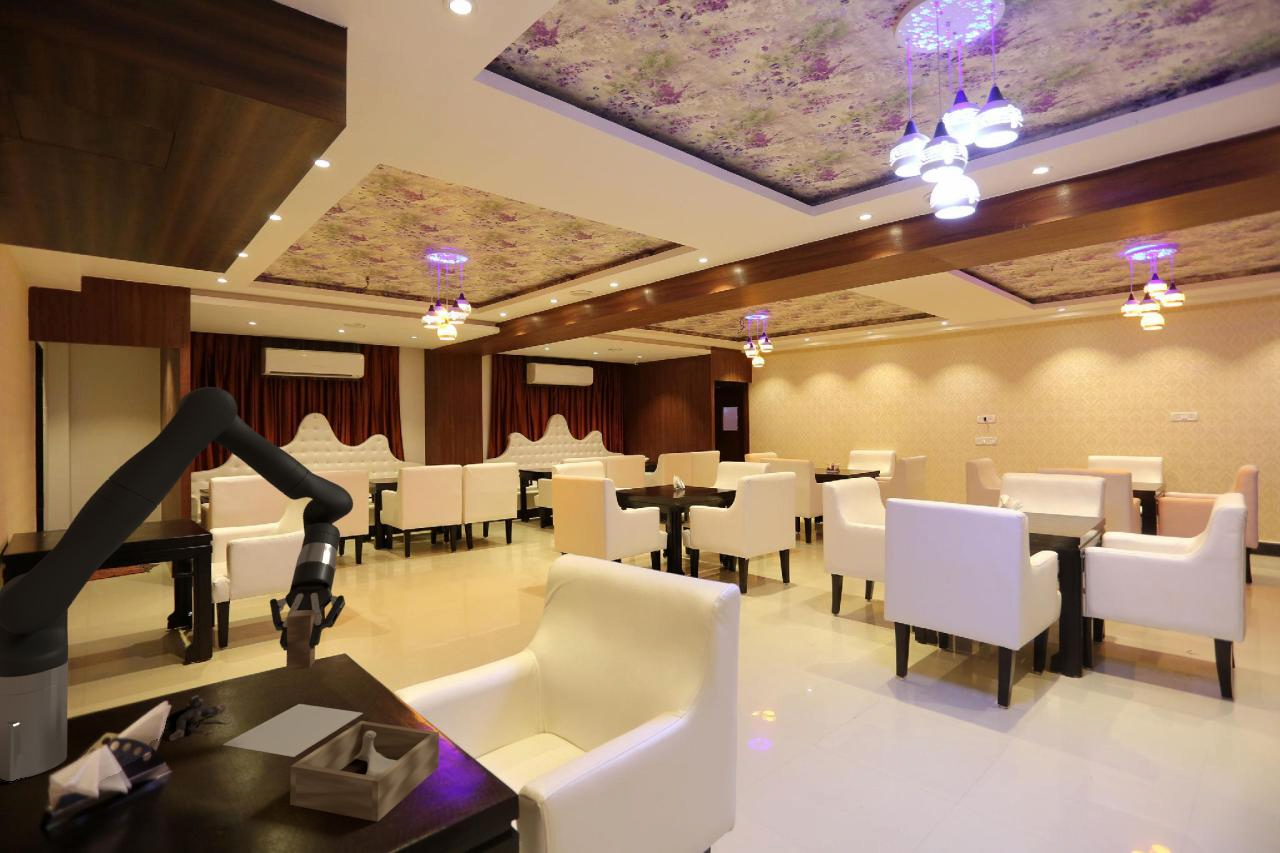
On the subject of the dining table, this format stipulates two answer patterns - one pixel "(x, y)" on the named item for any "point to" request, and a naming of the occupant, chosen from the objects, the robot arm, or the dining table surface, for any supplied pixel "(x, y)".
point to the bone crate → (358, 793)
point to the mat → (293, 730)
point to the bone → (373, 756)
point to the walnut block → (300, 639)
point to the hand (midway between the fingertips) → (298, 647)
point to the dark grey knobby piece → (191, 718)
